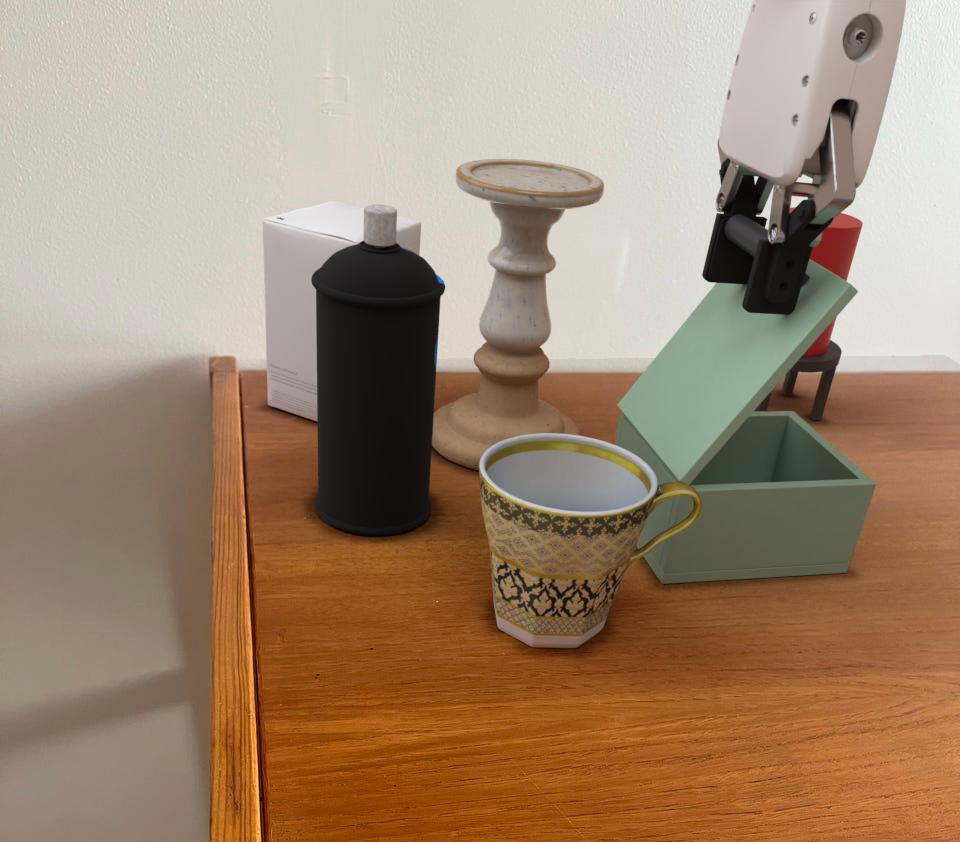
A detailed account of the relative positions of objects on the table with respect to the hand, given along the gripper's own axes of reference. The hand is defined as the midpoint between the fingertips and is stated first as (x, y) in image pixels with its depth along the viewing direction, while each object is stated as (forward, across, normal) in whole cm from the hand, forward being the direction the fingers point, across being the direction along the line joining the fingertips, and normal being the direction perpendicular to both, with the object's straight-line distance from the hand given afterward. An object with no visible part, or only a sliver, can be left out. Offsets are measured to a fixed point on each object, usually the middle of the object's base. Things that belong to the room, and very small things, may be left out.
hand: (746, 293), depth 63 cm
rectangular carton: (+18, +24, +21) cm, 37 cm away
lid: (+4, 0, 0) cm, 4 cm away
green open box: (+17, 0, -3) cm, 17 cm away
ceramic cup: (+18, -9, +11) cm, 23 cm away
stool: (+16, +22, -18) cm, 33 cm away
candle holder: (+18, +16, +9) cm, 25 cm away
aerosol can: (+18, +6, +21) cm, 28 cm away
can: (+10, +22, -18) cm, 30 cm away
